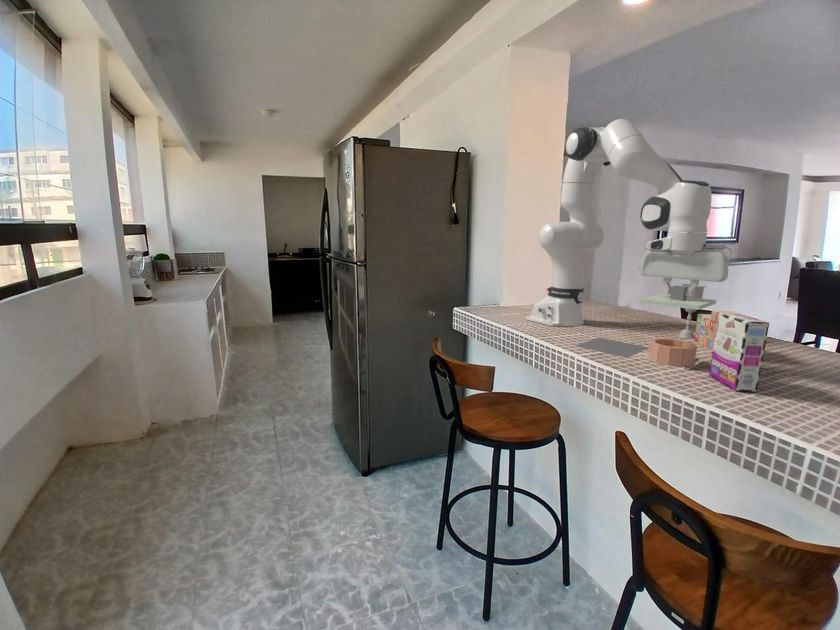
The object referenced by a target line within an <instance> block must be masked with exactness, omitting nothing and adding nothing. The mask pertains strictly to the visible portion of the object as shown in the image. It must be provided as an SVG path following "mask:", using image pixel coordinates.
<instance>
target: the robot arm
mask: <svg viewBox="0 0 840 630" xmlns="http://www.w3.org/2000/svg"><path fill="white" fill-rule="evenodd" d="M564 145H565V146H564V147H565V149H564V150H565V153H566V156H567V157H568V159H567V161H566V163H565V164H566V165H565V168H564V174H563V178H562V179H563V180H562V185H561V194H560V207H562V208H563V209H564V210H565V211H566V212H568V214H569V219H570V221H554V222H553V221H552V222H549V223H545V224H544V225H543V226H541V229H540V230H539V233H538V243H539V245H540V246H541V247H542V249H544V250H545V251H546V253H547V254H548V256H549V257H550V260H551V263H552V286H549V287H547V288H546V290H545V291H546V292H548V293H547V295H546V296H545V297H542V299H539V301H537V302H536V303H534V305H533V307H532V310H531V314H528V315H526V316H525V320H527V321H531V322H534V323H538V324H543V325H546V326H549V327H550V326H551V327H579V326H583V325H584V324H585V322H584V317H583V308H582V307H583V300H584V287H583V285H584V274H585V272H584V271H585V269H584V266H583V265H582V264H581V263H580V262H578V261H577V260H576V259H575V255H574V252H587V251H592V250H596V249H598V248H599V247H600V246H601V245H602V244H603V242H604V239H605V233H604V232H605V231H604V230H603V228H602V226H601V225H600V224H599V223H598V221H597V219H596V217H595V215H594V211H593V200H594V199H593V198H594V191H595V189H594V188H595V181H596V172H597V169H598V168H599V167H600V165H604V166H605V167H607V166H611V167H612V168H613V169H614V171H615V172H616V173H617V174H618V175H619V176H621V177H623V178H625V179H630V180H636V181H639V182H642V183H645V184H649V185H651V186H653V187H654V188H656V189H657V190H658V191H659V193H660V194H658V195H656V196H651V197H650V198H648V199H647V200H646V201H645V202H644V203H643V205H642V207H641V210H640V212H639V213H640V215H639V217H640V222H641V224H642V226H643V227H644V228H645V229H647V230H649V231H655V232H657V231H660V232H661V231H662V232H667V235H666V237H661V238H659V239H654V240H650V241H648V242H647V243H646V249H647V250H646V251H645V252H644V253H643V257H642V259H641V262H640V263H641V264H640V269H639V272H640V274H641V275H642V276H643V277H655V278H662V282H663V284H664V287H665V289H666V292H665V295H671V288H672V285H671V283H670V282H672V279H675V280H676V279H678V280H679V279H680V280H690V283H689V284H693V285H692V286H691V287H690V288H689V290H688V289H687V290H685V292H684V293H685V294H684V296H686V297H692V294H693V290H694V289H695V288H696V287H697V285H700V282H701V281H703V282H714V283H715V282H717V283H723V282H725V281H726V280H727V279H728V278H729V262H730V261H731V259H732V249H731V248H730V247H728V246H726V245H725V244H710V243H706V242H707V237H708V236H707V235H708V228H707V223H708V220H709V217H710V215H711V208H712V188H711V185H710V184H709V183H708V182H706V181H702V180H701V181H700V180H687V179H682V178H681V176H680V175H679V174H678V173H677V171H676V170H675V169H674V168H673V167H672V166H671V165H670V164H669V163H668V162H667V161H666V160H664V158H663V157H661V156H660V155H659V154H658V153H657V152H656V151H655V150H654V149H653V147H651V145H650V144H649V142H648V141H647V140H646V138H645V137H644V135H643V134H642V132H641V131H640V130H639V128H637V126H635V124H634V123H633V122H631V120H629V119H625V118H619V119H615V120H613V121H611V122H610V123H608V124H607V126H606V127H604V126H603V127H602V126H601V127H588V126H581V127H577V128H574V129H573V130H571V132H570V133H569V135H567V138H566V141H565V144H564Z"/></svg>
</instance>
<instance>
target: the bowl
mask: <svg viewBox="0 0 840 630" xmlns="http://www.w3.org/2000/svg"><path fill="white" fill-rule="evenodd" d="M648 343H649V344H648V347H649V348H648V349H647V351H648V352H647V358H648V360H650V362H651V361H652V362H654V363H656V364H660V365H664V366H670V367H681V368H685V369H691V367H692V368H693V367H695V363H696V355H697V348H698V346H697V345H696V344H695V343H694V342H690V341H687V340H682V339H677V338H667V337H655V338H651V339H649V342H648Z"/></svg>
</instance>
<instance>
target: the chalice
mask: <svg viewBox="0 0 840 630" xmlns="http://www.w3.org/2000/svg"><path fill="white" fill-rule="evenodd" d="M692 285H693V284H690V283H683V284H681V286H685V287H688V290H689V288H690V287H691V286H692ZM706 287H707V286H706V285H704V284H698V285H697V287H696V288H695V289H694V290H693V294H692V298H701V299H704V298H703V296H704V290H705V288H706ZM684 310H685V312H687V313H688V315H687V317H686V322H685V324H686V328H685V329H681V331H680V333H679V334H678V337H679V338H681V337H682V338H683V339H687V338H689V339H688V340H693V338H695V332H694V330H692V329H691V325H692V322H691V320H692V319H693V316H692V314H693V313H695V312H697V310H696V309H688V308H684Z"/></svg>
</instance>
